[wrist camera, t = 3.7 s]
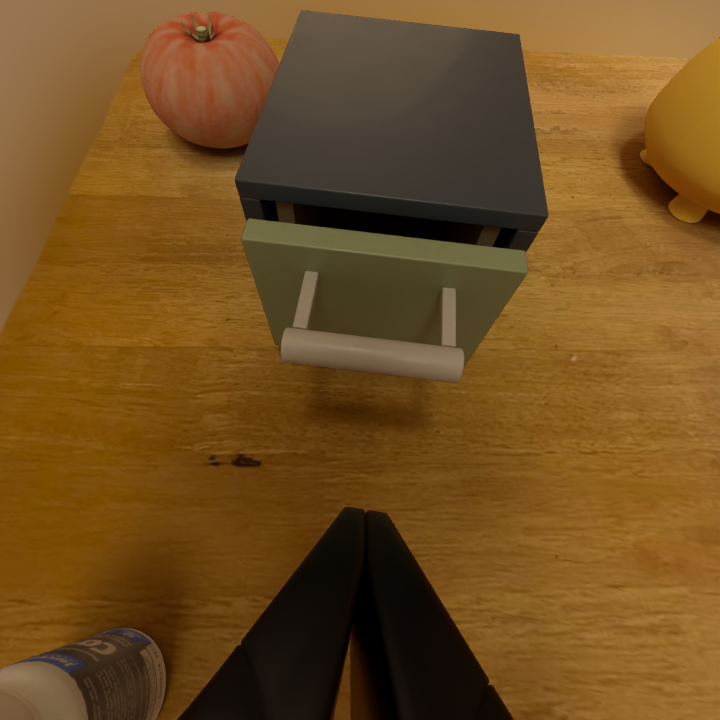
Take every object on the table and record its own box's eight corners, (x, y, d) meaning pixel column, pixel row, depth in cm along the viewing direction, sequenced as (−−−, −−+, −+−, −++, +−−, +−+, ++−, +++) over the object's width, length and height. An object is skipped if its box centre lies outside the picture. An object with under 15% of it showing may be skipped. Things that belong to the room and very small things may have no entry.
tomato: (173, 96, 35) (131, -17, 28) (289, 96, 36) (276, -15, 29) (157, 173, 31) (101, 59, 23) (290, 170, 32) (275, 60, 24)
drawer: (464, 437, 21) (540, 370, 13) (258, 412, 21) (208, 329, 13) (461, 210, 29) (507, 83, 21) (312, 193, 29) (301, 60, 21)
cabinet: (467, 345, 25) (549, 215, 15) (275, 322, 25) (233, 179, 15) (464, 192, 31) (519, 33, 22) (313, 174, 31) (300, 9, 22)
